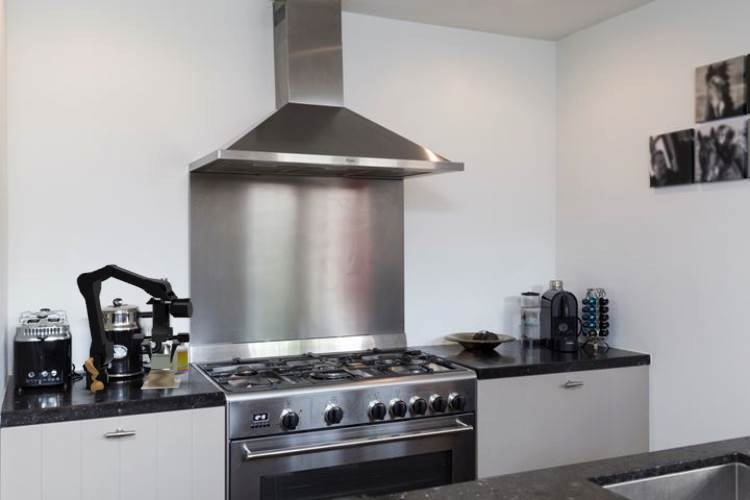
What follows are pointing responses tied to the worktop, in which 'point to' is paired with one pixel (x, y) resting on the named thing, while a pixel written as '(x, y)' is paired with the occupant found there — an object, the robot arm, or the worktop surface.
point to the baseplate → (175, 385)
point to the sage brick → (160, 361)
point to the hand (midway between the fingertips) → (161, 363)
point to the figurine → (97, 384)
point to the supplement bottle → (180, 359)
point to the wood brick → (161, 378)
